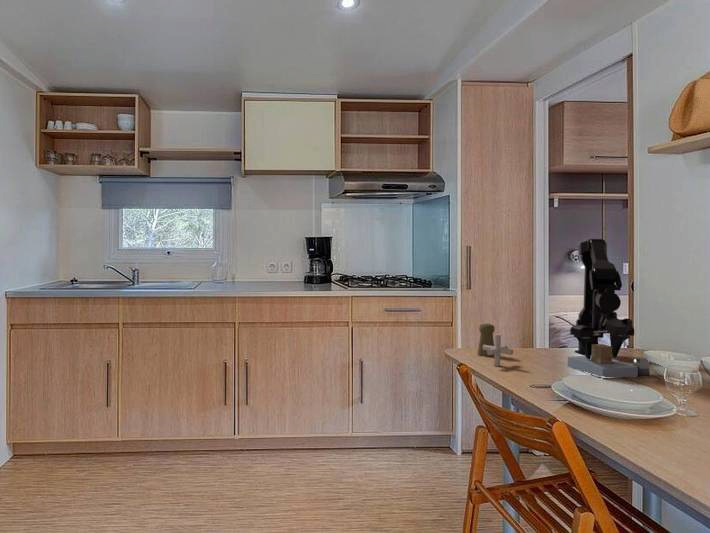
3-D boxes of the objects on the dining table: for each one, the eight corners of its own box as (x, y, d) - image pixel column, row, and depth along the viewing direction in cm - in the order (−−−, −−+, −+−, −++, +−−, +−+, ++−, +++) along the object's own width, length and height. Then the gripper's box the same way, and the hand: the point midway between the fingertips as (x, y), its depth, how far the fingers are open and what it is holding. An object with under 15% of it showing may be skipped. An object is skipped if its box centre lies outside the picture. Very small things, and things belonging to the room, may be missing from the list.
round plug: (628, 373, 154) (629, 357, 154) (641, 372, 155) (642, 356, 155) (640, 377, 150) (640, 360, 150) (653, 376, 151) (653, 359, 151)
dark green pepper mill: (481, 352, 182) (481, 321, 182) (497, 354, 179) (498, 323, 178) (474, 355, 178) (475, 324, 177) (491, 357, 174) (492, 325, 174)
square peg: (591, 370, 158) (591, 344, 158) (602, 369, 159) (602, 344, 158) (600, 373, 154) (600, 347, 154) (611, 372, 155) (612, 346, 155)
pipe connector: (491, 360, 170) (492, 330, 169) (519, 365, 163) (520, 334, 162) (475, 365, 163) (475, 334, 162) (503, 371, 156) (504, 338, 155)
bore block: (567, 366, 163) (567, 356, 163) (599, 364, 166) (600, 355, 165) (602, 379, 147) (602, 368, 147) (637, 377, 150) (637, 366, 150)
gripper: (594, 312, 146) (592, 366, 146) (649, 310, 150) (647, 363, 151) (569, 307, 156) (568, 357, 157) (621, 306, 161) (620, 354, 161)
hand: (601, 358), depth 156 cm, fingers open, 9 cm apart
